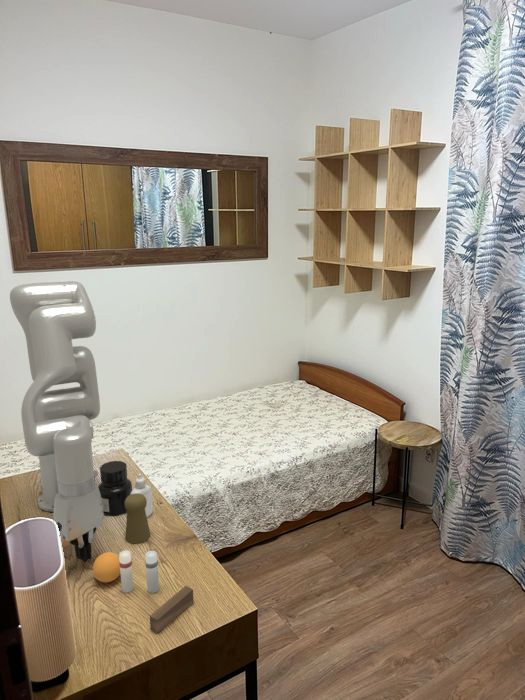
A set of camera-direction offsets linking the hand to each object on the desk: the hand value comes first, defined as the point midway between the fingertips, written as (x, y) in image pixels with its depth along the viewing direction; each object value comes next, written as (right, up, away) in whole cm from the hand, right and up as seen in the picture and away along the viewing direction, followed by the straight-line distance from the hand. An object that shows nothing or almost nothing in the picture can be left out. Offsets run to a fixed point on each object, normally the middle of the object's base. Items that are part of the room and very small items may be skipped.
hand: (84, 558), depth 117 cm
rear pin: (+17, -4, -7) cm, 19 cm away
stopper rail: (+22, -5, -14) cm, 27 cm away
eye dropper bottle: (+9, +3, +20) cm, 22 cm away
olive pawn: (+9, +1, +11) cm, 14 cm away
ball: (+7, 0, -5) cm, 8 cm away
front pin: (+12, -4, -7) cm, 14 cm away
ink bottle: (+1, +4, +24) cm, 24 cm away
